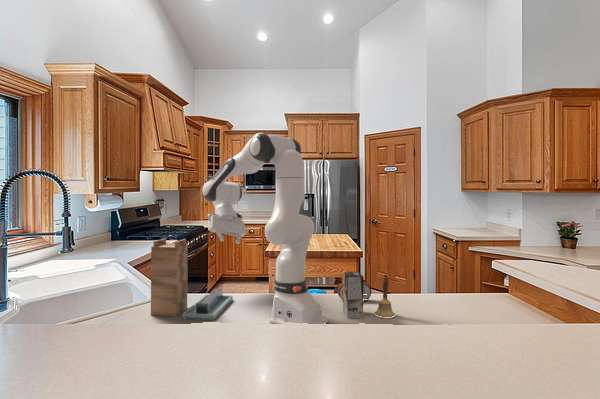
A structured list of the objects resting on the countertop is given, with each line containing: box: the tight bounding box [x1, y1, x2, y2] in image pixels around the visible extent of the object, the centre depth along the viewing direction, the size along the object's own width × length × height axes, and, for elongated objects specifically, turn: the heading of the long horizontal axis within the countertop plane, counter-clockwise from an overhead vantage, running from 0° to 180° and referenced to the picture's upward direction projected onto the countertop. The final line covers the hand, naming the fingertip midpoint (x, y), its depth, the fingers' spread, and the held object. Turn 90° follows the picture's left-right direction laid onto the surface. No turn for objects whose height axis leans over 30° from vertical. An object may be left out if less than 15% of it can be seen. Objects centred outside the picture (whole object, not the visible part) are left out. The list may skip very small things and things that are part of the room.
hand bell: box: [374, 273, 396, 317], centre depth 134 cm, size 8×8×16 cm
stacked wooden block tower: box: [150, 238, 189, 317], centre depth 133 cm, size 10×10×28 cm
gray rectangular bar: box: [195, 288, 224, 314], centre depth 139 cm, size 20×4×4 cm, turn 175°
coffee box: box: [342, 271, 365, 319], centre depth 134 cm, size 9×6×16 cm
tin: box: [337, 281, 372, 301], centre depth 151 cm, size 15×3×8 cm, turn 93°
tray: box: [181, 294, 233, 321], centre depth 137 cm, size 24×12×2 cm, turn 175°
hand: (230, 241), depth 158 cm, fingers open, 8 cm apart
